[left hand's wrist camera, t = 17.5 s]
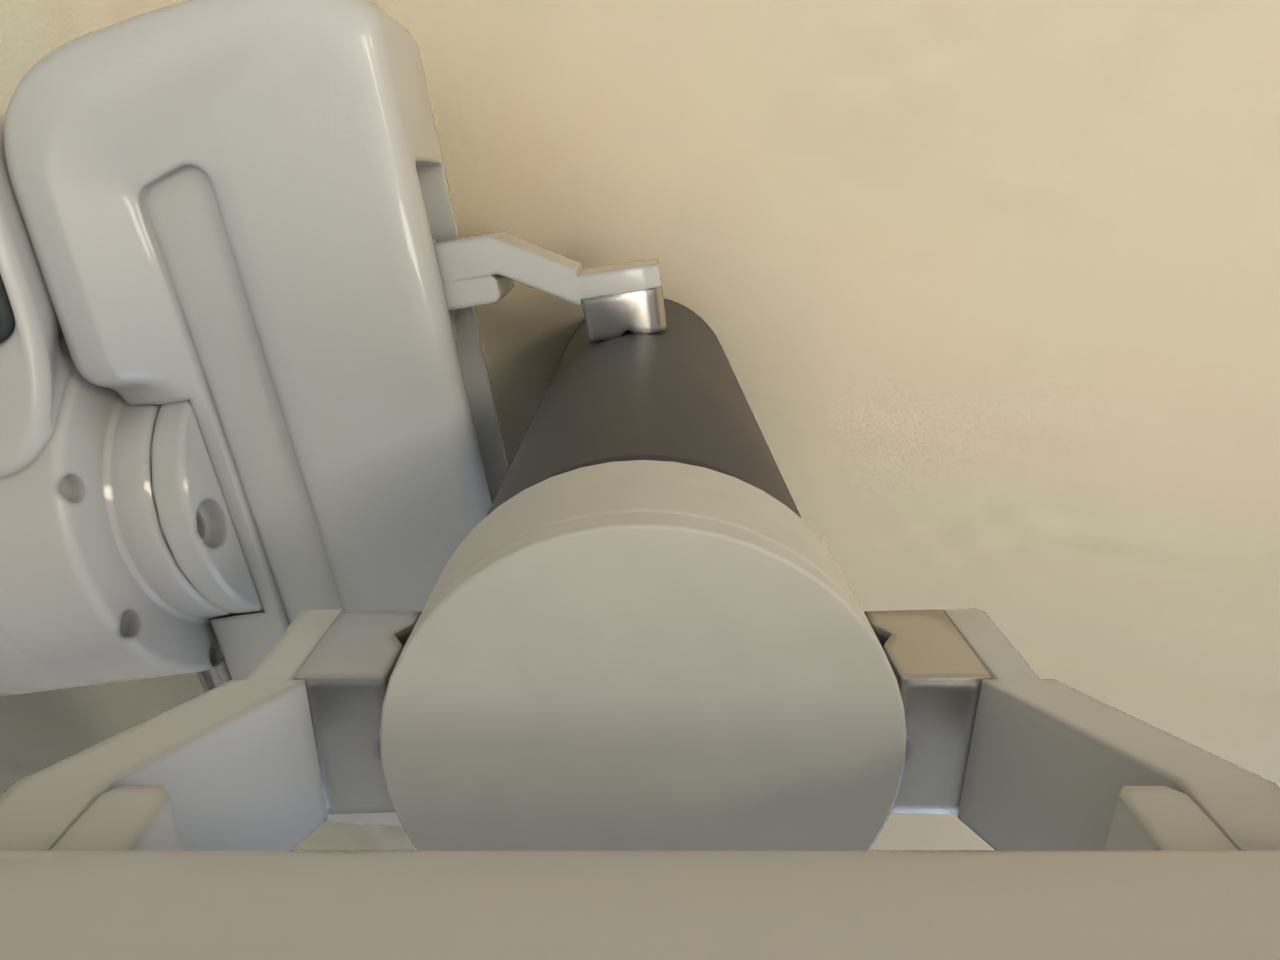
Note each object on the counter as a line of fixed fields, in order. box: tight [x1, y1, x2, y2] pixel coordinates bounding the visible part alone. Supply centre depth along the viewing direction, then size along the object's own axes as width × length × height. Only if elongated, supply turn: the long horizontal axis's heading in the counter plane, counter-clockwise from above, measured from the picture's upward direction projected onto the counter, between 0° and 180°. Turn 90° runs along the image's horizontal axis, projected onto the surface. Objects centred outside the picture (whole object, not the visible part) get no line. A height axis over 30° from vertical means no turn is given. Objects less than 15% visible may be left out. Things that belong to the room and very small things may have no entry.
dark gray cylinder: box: [486, 298, 802, 519], centre depth 17 cm, size 5×5×16 cm
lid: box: [379, 460, 907, 851], centre depth 9 cm, size 6×6×2 cm
